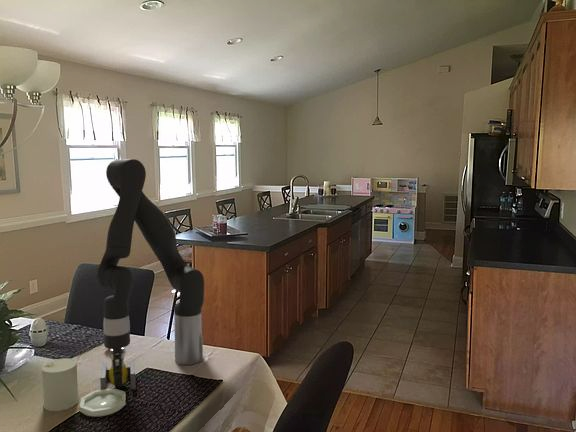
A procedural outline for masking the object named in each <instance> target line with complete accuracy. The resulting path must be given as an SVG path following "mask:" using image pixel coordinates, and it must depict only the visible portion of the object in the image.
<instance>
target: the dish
mask: <svg viewBox="0 0 576 432" xmlns="http://www.w3.org/2000/svg"><path fill="white" fill-rule="evenodd" d="M125 406H126V391H125V390H124V391H123V390H120V389H118V388H115V387H113V388H112V387H111V388H110V387H109V388H106V389H102V390H101V389H97V390H93V391H91V392H90V393H88V394H86V395H85V396H83V397H81V398H80V404H79V412H80V413H82V414H83V415H85V416H87V417H93V418H96V417H100V418H101V417H105V416H109V415H112V414H115V413H117V412H118V411H120V410H121V409H123V408H124V407H125Z"/></svg>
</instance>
